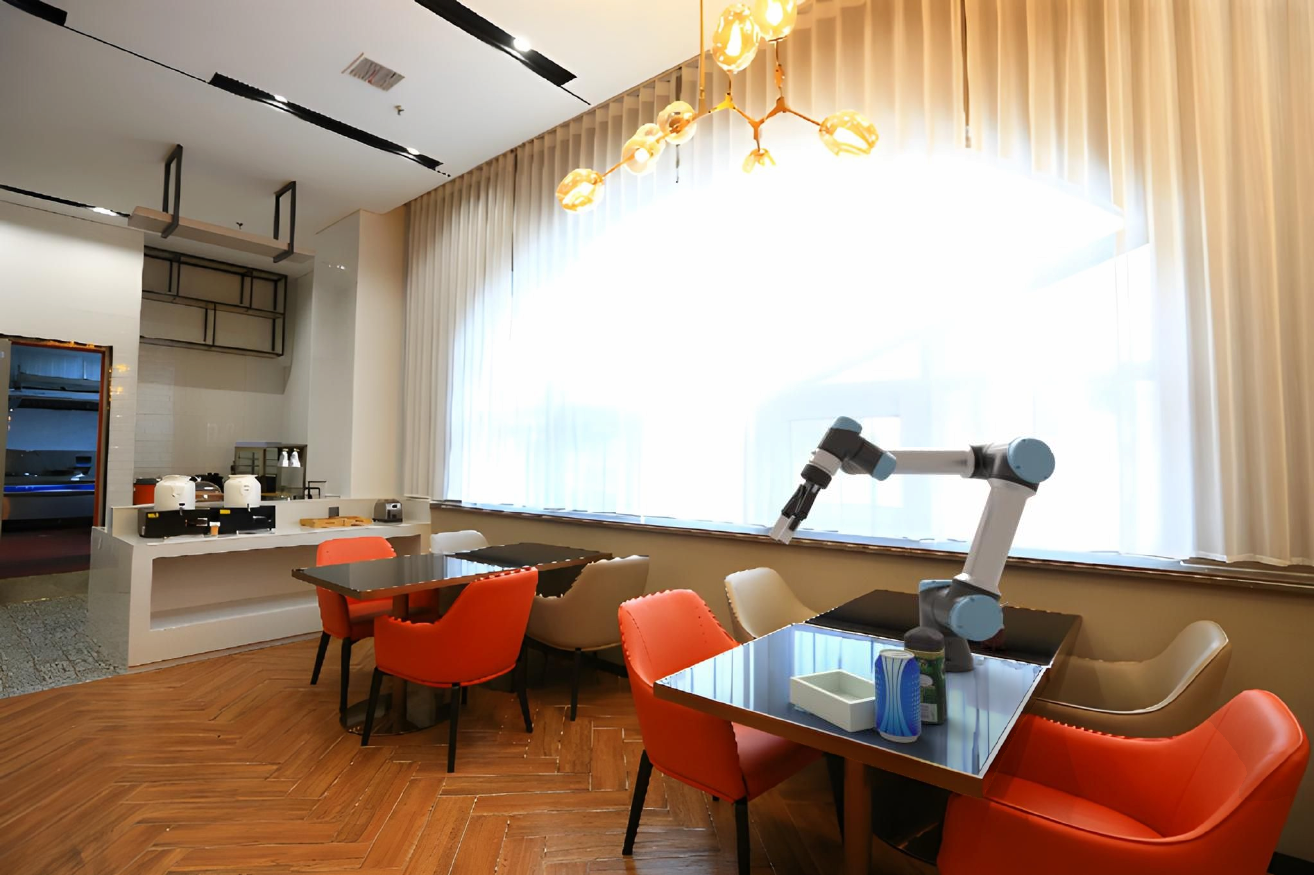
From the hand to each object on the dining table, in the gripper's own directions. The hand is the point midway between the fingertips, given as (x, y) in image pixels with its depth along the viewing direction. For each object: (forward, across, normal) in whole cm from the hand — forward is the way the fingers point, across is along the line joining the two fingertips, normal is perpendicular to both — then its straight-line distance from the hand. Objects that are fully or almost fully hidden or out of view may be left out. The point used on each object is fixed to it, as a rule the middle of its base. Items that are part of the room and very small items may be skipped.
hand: (777, 539), depth 162 cm
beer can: (+22, +34, +34) cm, 53 cm away
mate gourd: (-9, -32, +79) cm, 86 cm away
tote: (+25, +21, +28) cm, 43 cm away
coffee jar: (+16, +24, +42) cm, 51 cm away
